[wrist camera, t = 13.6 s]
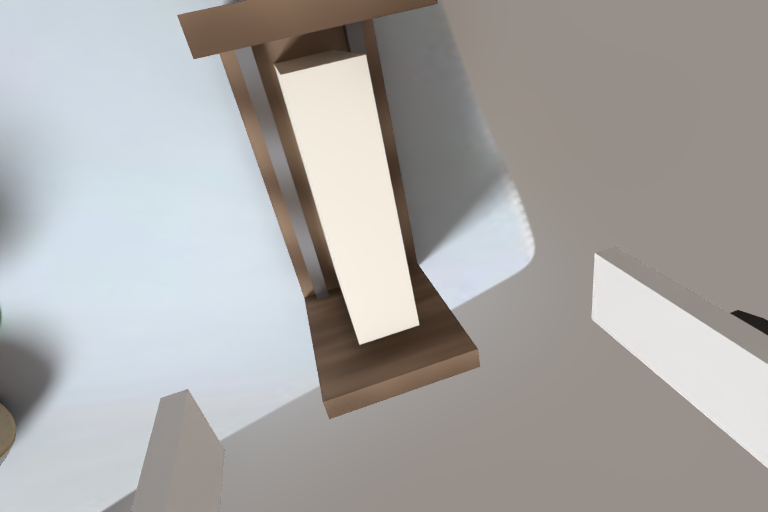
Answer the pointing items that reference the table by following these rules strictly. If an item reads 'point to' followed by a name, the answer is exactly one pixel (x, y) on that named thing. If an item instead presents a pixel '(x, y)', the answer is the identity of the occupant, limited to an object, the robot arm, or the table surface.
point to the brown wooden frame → (295, 200)
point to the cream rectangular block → (351, 186)
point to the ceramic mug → (6, 432)
